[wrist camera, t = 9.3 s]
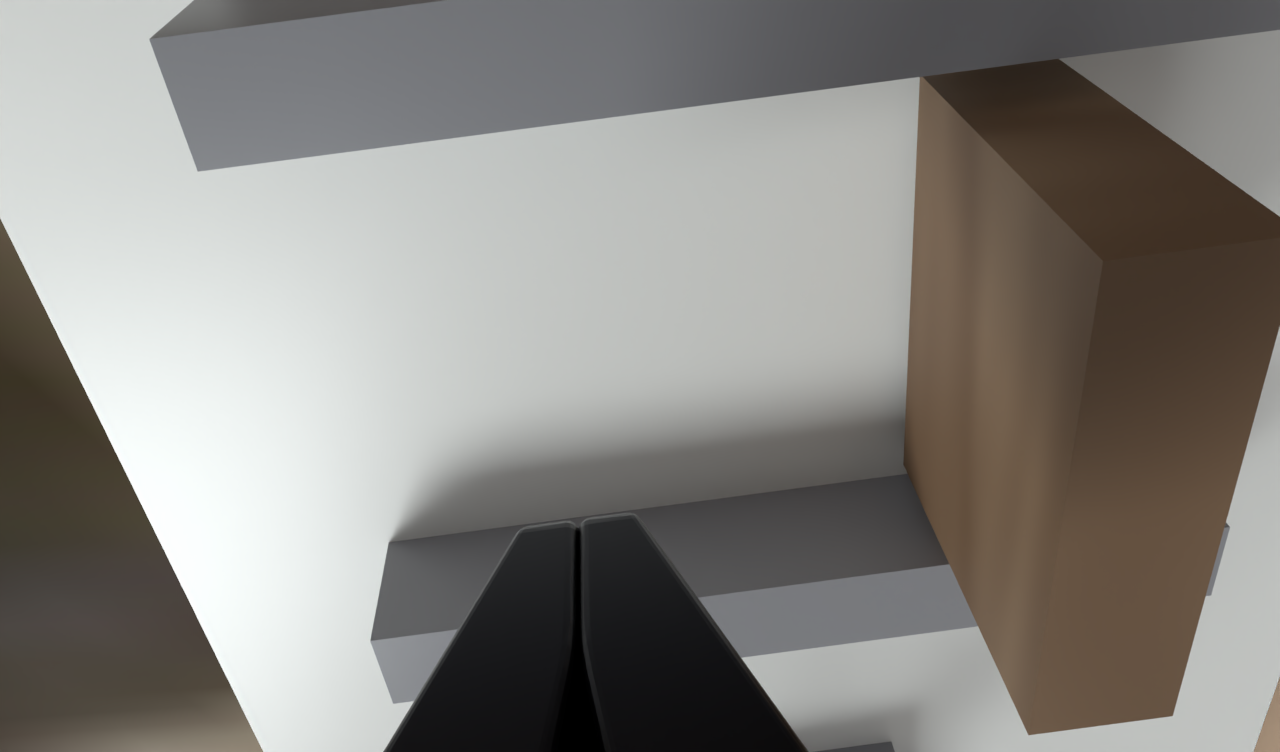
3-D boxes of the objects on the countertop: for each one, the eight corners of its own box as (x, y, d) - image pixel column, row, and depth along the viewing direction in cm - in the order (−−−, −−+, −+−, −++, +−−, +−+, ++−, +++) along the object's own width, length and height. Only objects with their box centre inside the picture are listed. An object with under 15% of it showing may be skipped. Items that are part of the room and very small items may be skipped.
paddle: (903, 464, 12) (1028, 735, 9) (919, 74, 9) (1101, 260, 6) (1010, 450, 12) (1172, 715, 9) (1055, 55, 9) (1305, 235, 6)
